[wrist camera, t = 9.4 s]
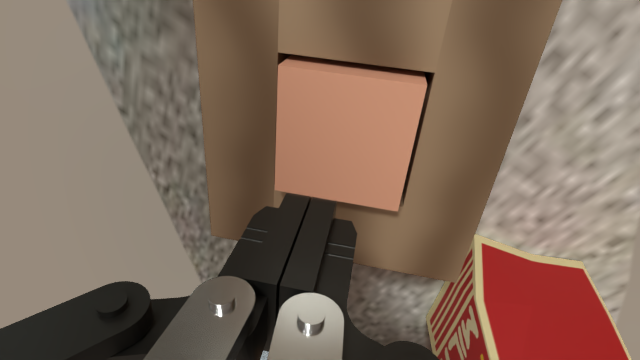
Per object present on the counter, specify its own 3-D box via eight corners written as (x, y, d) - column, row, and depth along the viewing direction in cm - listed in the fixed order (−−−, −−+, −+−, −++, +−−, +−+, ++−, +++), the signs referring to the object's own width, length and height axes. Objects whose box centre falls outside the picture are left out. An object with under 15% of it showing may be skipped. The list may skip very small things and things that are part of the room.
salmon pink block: (294, 155, 22) (274, 190, 18) (300, 47, 19) (278, 65, 15) (398, 172, 21) (397, 211, 17) (422, 63, 18) (427, 85, 14)
